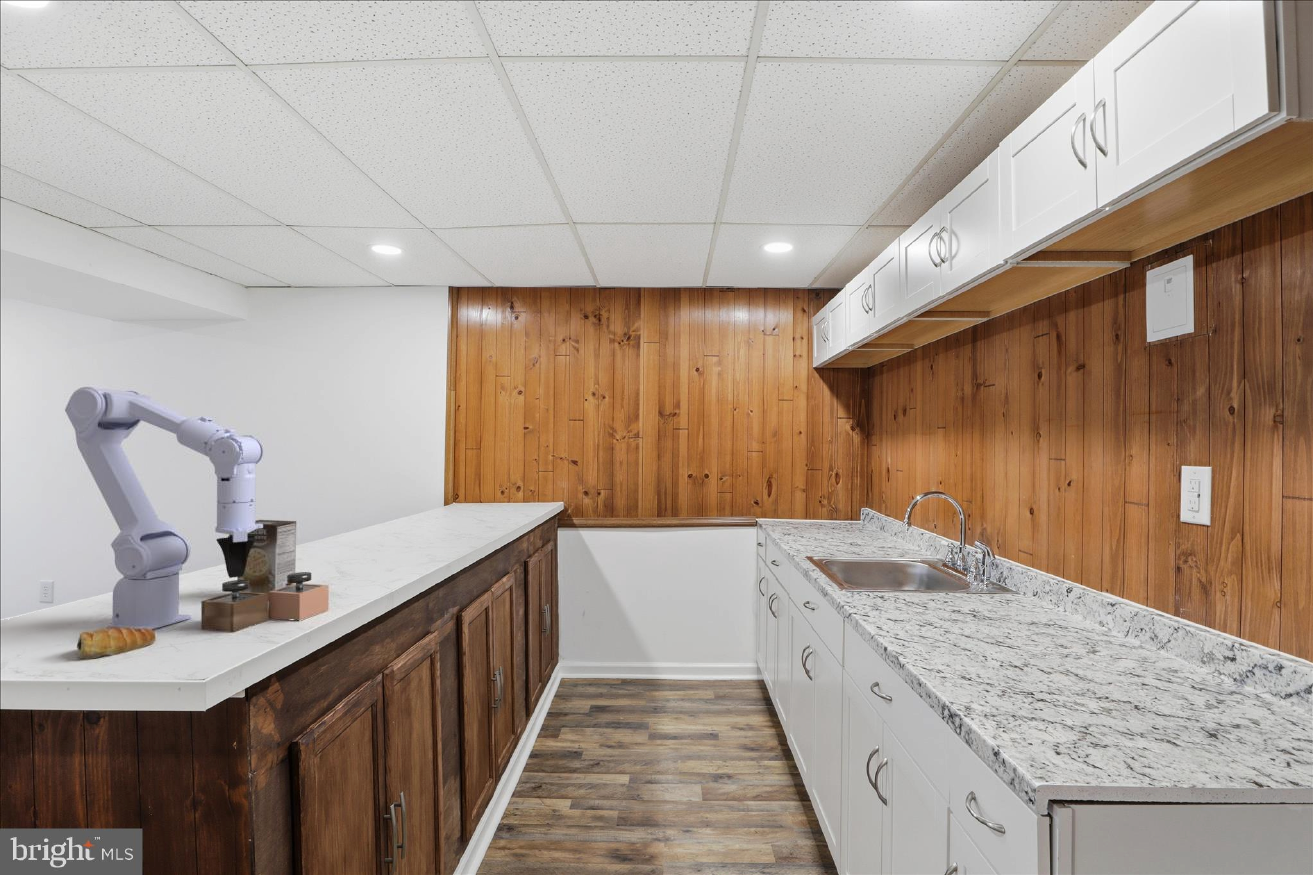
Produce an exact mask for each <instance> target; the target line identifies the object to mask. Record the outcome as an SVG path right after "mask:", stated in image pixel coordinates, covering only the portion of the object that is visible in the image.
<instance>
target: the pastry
mask: <svg viewBox="0 0 1313 875" xmlns="http://www.w3.org/2000/svg"><path fill="white" fill-rule="evenodd" d="M155 642H156V633H155V631H154V629H153V630H150V629H146V628H140V629H135V628H128V627H126V628H116V627H107V628H102V629H96V630H93V631H91V632H90V631H84V632H81V633H79V638H78V640H77V643H76V649H77V650H78V651H77V654H76V655H77V657H78V658H80V659H83V660H87V659H88V660H93V659H94V660H95V659H99V658H100V657H102V656H105V655H108V656H116V655H120V654H121V653H128V652H132V651H136V650H139V649H143V648H145V647H146V646H149V645H152V644H154V643H155Z"/></svg>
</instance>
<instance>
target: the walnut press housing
mask: <svg viewBox="0 0 1313 875" xmlns="http://www.w3.org/2000/svg"><path fill="white" fill-rule="evenodd" d="M240 594H252V595H258V596H254V597H251V598H247V599H244V600H240V601H237V602H224V601H212V600H215V599H219V598H222V597H226V596H230V595H232V592H228V593H227V594H226V593H225V594H223V595H219V596H215V597H212V598H208V599H205V600H201V605H200V606H201V608H200V609H201V617H200V619H201V621H200V624H201V625H200V626H201V628H200V629H201V630H206V631H217V632H227V633H236V632H239V631H241V629H242V630H244V628H245V629H247V628H250V627H252V626H255V624H256V625H259V624H262V623H265V622H267V620H268V621H269V618H268V593H255V592H242V591H240ZM261 622H262V623H261ZM249 626H250V627H249Z"/></svg>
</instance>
